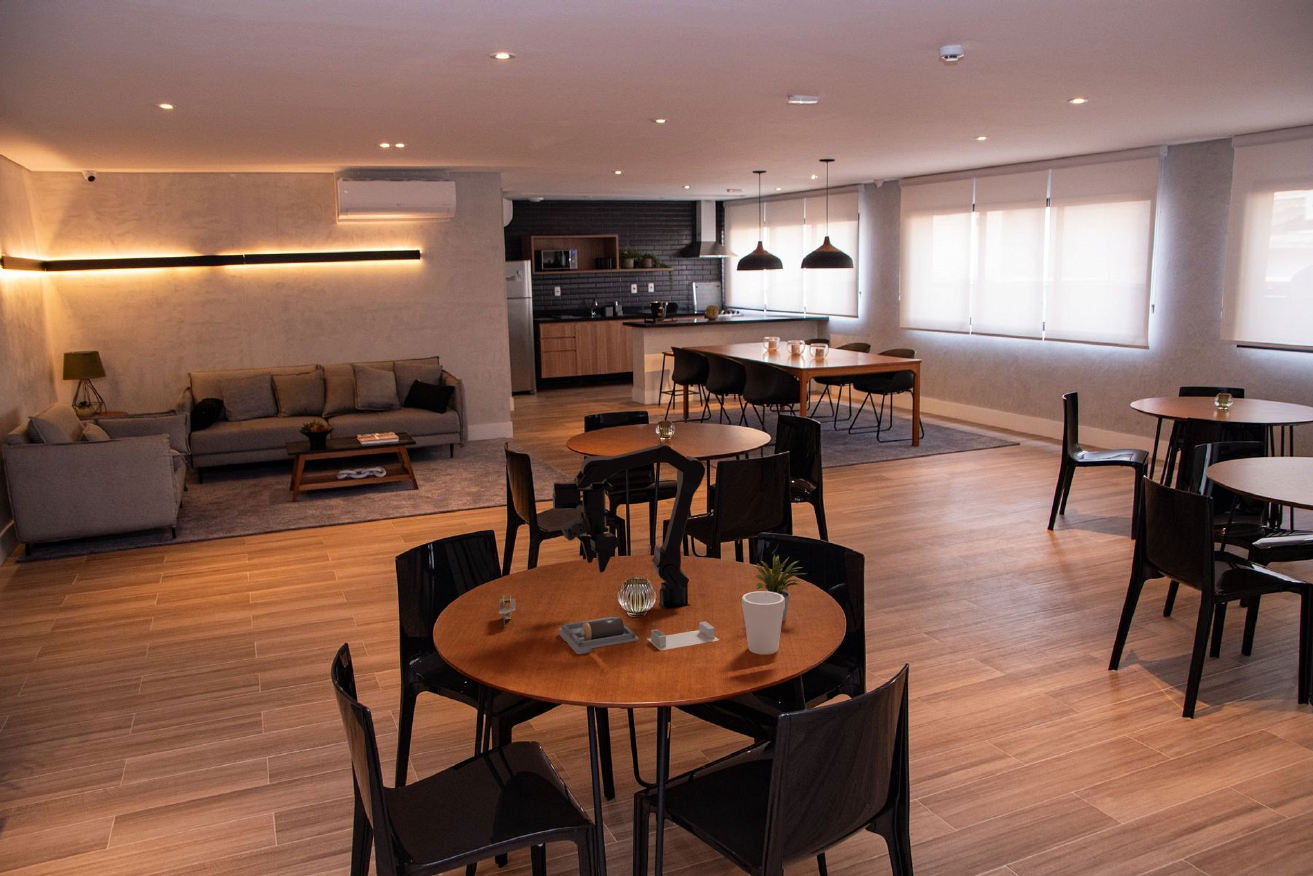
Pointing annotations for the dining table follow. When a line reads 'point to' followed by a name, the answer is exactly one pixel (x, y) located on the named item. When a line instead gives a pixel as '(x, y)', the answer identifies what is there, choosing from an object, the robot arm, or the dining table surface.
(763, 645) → the foam cup
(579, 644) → the two-compartment grey tray
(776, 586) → the house plant
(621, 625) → the battery cell
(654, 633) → the checker cradle
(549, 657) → the dining table surface
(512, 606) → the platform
